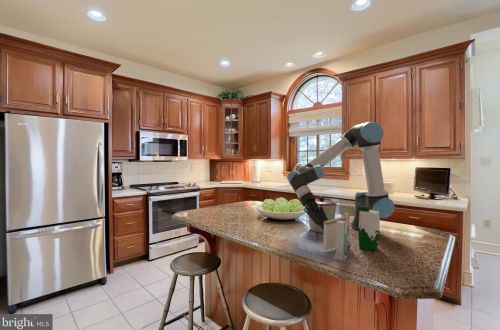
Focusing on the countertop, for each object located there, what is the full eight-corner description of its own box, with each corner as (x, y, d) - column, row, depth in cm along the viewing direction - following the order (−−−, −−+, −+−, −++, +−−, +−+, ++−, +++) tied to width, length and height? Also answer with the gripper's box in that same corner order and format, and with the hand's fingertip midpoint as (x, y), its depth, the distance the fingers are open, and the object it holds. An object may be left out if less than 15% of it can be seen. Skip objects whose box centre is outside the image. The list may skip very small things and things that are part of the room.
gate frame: (341, 242, 130) (342, 211, 129) (351, 244, 127) (352, 212, 127) (332, 259, 108) (333, 222, 107) (345, 261, 105) (346, 223, 105)
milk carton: (359, 243, 129) (360, 204, 128) (379, 247, 124) (380, 206, 123) (356, 248, 121) (358, 207, 121) (377, 252, 116) (379, 209, 116)
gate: (341, 242, 126) (342, 216, 126) (345, 243, 124) (346, 217, 124) (322, 249, 116) (323, 221, 115) (326, 250, 114) (327, 222, 114)
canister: (307, 234, 144) (308, 197, 143) (304, 226, 162) (304, 193, 161) (340, 235, 142) (341, 198, 141) (333, 227, 160) (333, 194, 159)
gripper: (309, 199, 140) (334, 237, 127) (293, 200, 133) (316, 241, 120) (317, 191, 136) (343, 229, 123) (301, 192, 128) (326, 233, 115)
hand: (330, 235), depth 121 cm, fingers closed
